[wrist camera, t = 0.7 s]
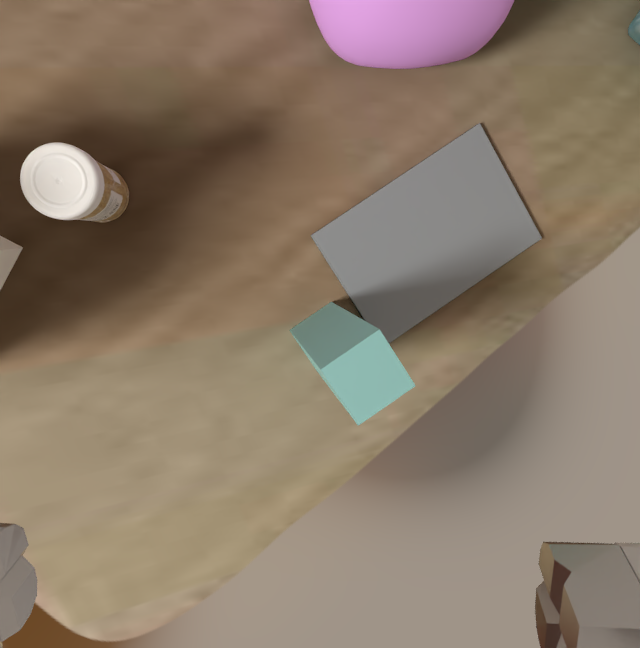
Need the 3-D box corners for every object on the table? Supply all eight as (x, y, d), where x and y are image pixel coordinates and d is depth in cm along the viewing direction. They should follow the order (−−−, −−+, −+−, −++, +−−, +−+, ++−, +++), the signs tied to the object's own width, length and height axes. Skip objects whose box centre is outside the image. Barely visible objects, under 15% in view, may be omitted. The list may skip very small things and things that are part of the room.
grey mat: (381, 346, 55) (382, 347, 54) (310, 235, 52) (311, 235, 52) (539, 238, 56) (541, 238, 55) (477, 124, 53) (479, 123, 53)
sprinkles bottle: (119, 160, 49) (84, 132, 36) (137, 215, 49) (109, 208, 36) (63, 174, 48) (6, 151, 35) (82, 230, 49) (33, 228, 36)
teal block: (316, 370, 54) (358, 425, 38) (289, 330, 53) (320, 369, 37) (357, 342, 54) (415, 385, 39) (331, 301, 53) (379, 329, 38)
